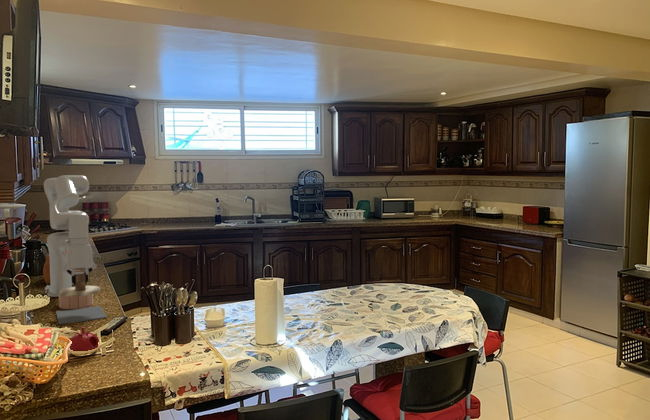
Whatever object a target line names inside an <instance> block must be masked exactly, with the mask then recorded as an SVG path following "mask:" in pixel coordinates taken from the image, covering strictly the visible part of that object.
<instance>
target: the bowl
mask: <svg viewBox="0 0 650 420" xmlns="http://www.w3.org/2000/svg"><path fill="white" fill-rule="evenodd" d="M93 304H94V294H91V295H85V296H72V297H71V296H61V295H60V294H59V297H58V308H60V309H63V310H64V309H65V310H71V309H79V308H87V307H91V306H92V305H93Z"/></svg>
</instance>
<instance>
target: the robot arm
mask: <svg viewBox="0 0 650 420" xmlns="http://www.w3.org/2000/svg"><path fill="white" fill-rule="evenodd" d="M43 190H44V193H45V195H46V197H47V201H48V204H49V205H48V206H49V225H50V227H51V229H53V230H56V231H58V232H52V233H50V234H49V235H47V238H46V244H47V250H48V254H49V257H50V284H48V285H46V286H44V290H46V291H48V292H47V293H46V295H47V297H51V298H52V297H53V298H57V297H58V298H59V291H60V290H62V289H65V288H70V287H73V286H72V283H74V285H76V276H75V269H78V270H81V269H84V272H85V285H87V283H88V282H89V274H90V273H91V272H92V271H93V270H95V269H96V268H98V265H97V264H96V262H95V261H94V257H93V256H94V255H93V249H92V245H91V244H90V243H89V242H90V241H89V238H90V237H89V223H90V217H89V215H88V213H86V212H85V211H82V210H70V208H72V207H75V206H76V205H77V204H78V203H79V201H80V196H79V195H84V194H86V193H88V192H89V190H90V182H89V180H88V178H87V176H85V175H79V174H77V175H76V174H73V175H72V174H70V175H69V174H67V175H65V174H63V175H60V176H58V177H50V178H47V179H46V178H45V180H44V182H43ZM60 230H61V232H59V231H60ZM64 230H68V231H64ZM65 251H67V253H65ZM71 275H72V277H71Z"/></svg>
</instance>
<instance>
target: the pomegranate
mask: <svg viewBox="0 0 650 420" xmlns="http://www.w3.org/2000/svg"><path fill="white" fill-rule="evenodd" d="M80 330H81V332H76V331H74V332H72V334H74V335H73V336H71V337H70V338H69V339H70V340H71V341H72V344H71V346H70V349H71V350H73V351H88V350H92V349H95V348H97V347H98V342H99V343H100V338H99V337H98V336H97V335H96V334H95V333H93V332H96V331H95V330H92V329H91V330H89V331H85V326H82V327H81V329H80ZM98 348H99V347H98Z"/></svg>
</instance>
